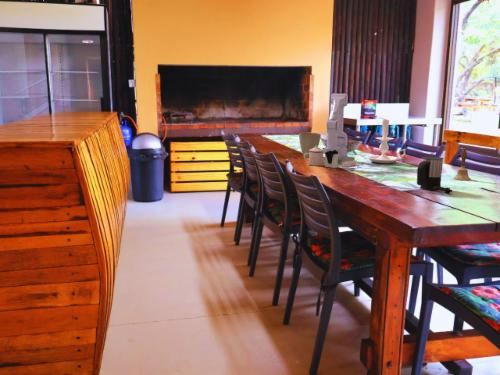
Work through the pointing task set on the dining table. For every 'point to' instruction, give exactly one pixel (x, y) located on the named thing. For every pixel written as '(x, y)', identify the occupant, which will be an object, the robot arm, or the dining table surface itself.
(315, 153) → the teacup with lid
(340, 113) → the robot arm
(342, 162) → the dish rack
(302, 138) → the plant pot
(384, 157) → the candlestick
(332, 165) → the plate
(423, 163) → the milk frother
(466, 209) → the dining table surface
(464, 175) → the hand bell
